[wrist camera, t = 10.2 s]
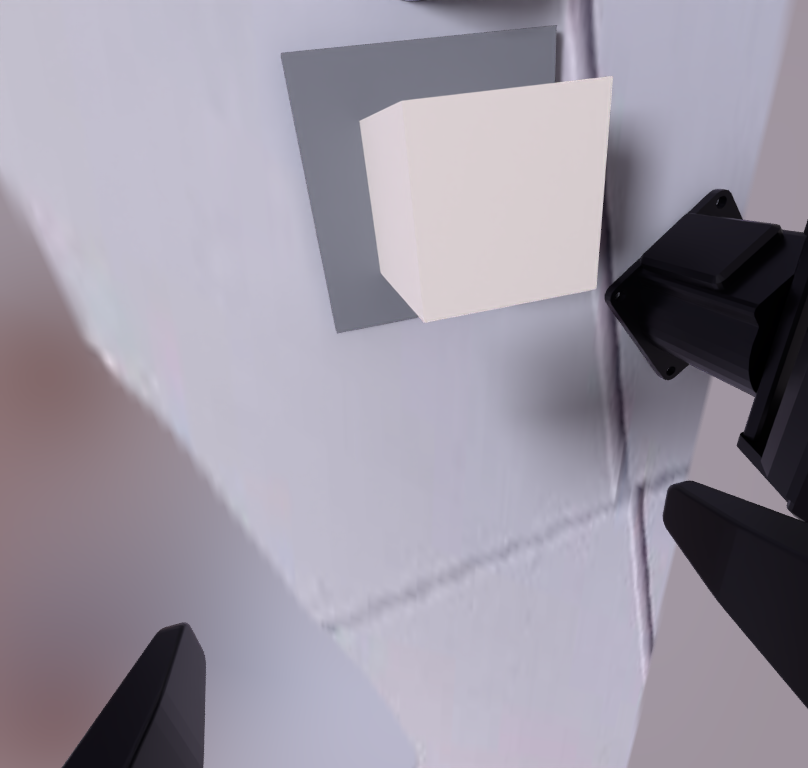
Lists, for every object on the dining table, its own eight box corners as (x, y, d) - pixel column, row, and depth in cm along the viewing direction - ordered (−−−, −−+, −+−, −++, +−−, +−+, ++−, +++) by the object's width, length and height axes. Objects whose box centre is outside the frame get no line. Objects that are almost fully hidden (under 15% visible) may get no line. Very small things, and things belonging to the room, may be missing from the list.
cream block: (504, 251, 18) (596, 289, 13) (380, 273, 17) (424, 322, 12) (502, 103, 16) (613, 75, 11) (359, 120, 15) (401, 100, 10)
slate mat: (542, 287, 20) (549, 291, 19) (335, 328, 18) (337, 333, 18) (547, 29, 16) (556, 25, 15) (280, 56, 14) (281, 52, 14)
